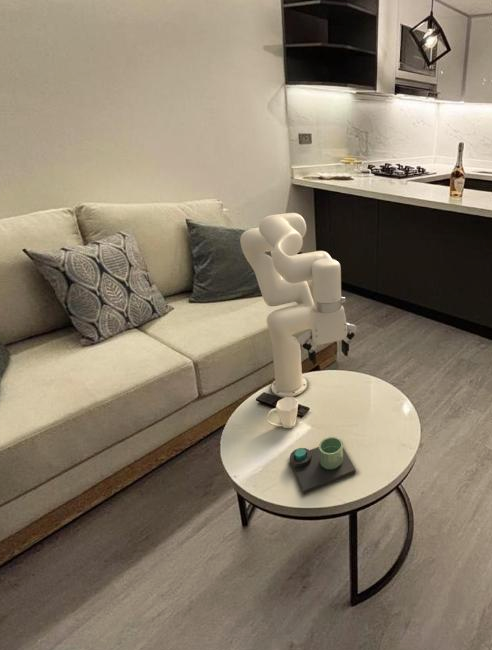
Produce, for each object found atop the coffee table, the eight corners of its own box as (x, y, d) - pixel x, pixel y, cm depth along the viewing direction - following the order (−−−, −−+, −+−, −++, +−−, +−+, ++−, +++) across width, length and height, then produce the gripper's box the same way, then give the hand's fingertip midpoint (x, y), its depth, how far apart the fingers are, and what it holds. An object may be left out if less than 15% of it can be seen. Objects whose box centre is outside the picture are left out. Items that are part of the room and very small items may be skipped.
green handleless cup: (316, 457, 117) (315, 441, 115) (337, 449, 121) (337, 434, 118) (324, 474, 112) (323, 457, 110) (346, 465, 115) (346, 449, 113)
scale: (288, 460, 118) (287, 452, 117) (338, 442, 125) (337, 434, 124) (302, 495, 107) (301, 486, 106) (355, 473, 115) (355, 465, 113)
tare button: (293, 454, 116) (293, 450, 116) (304, 451, 118) (303, 447, 117) (297, 462, 114) (296, 457, 114) (307, 458, 116) (307, 454, 115)
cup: (302, 427, 130) (300, 407, 127) (270, 436, 126) (267, 415, 123) (297, 414, 136) (296, 394, 133) (266, 422, 132) (264, 401, 129)
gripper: (351, 293, 118) (351, 345, 124) (292, 304, 110) (295, 358, 116) (362, 303, 112) (361, 356, 118) (300, 315, 104) (303, 372, 110)
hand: (329, 357), depth 117 cm, fingers open, 9 cm apart
